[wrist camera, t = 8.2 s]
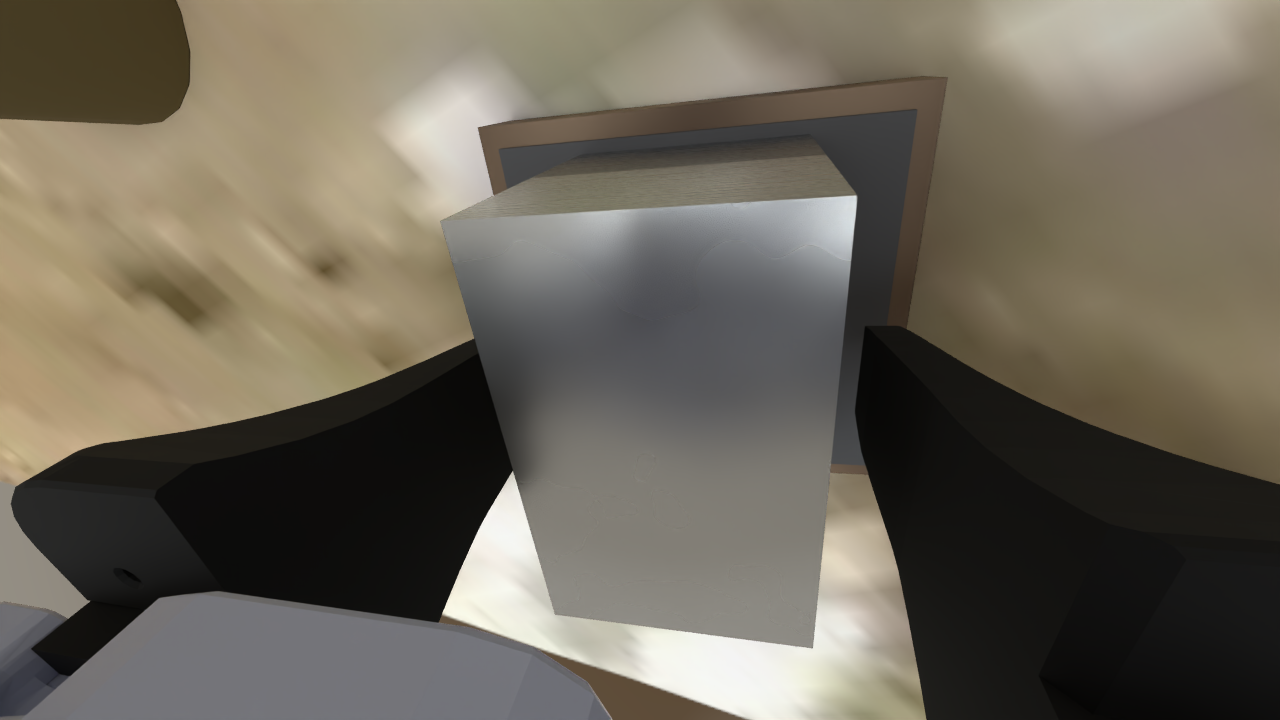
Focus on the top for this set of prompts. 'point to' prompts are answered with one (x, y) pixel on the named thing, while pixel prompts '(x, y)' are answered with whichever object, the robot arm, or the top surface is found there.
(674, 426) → the block
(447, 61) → the top surface
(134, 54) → the cork
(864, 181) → the stand
